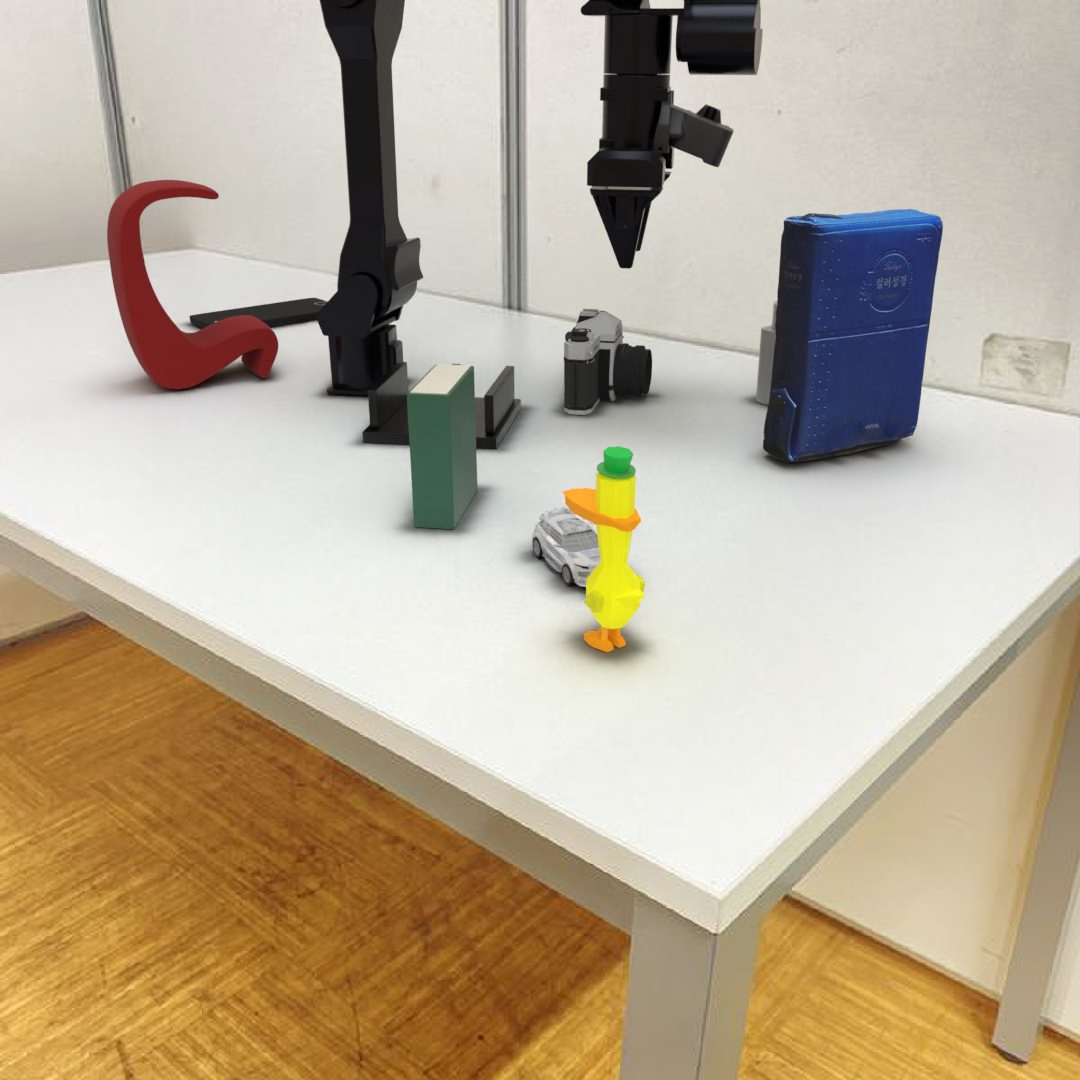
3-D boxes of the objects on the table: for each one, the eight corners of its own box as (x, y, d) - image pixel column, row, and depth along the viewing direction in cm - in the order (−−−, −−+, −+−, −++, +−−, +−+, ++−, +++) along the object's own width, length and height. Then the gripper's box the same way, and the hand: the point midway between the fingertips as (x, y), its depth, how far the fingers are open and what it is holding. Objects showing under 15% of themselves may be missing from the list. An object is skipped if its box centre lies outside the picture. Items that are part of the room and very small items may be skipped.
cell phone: (348, 314, 147) (347, 307, 147) (217, 335, 137) (216, 327, 136) (315, 303, 153) (314, 296, 153) (188, 322, 143) (187, 315, 143)
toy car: (576, 596, 71) (577, 552, 70) (526, 549, 78) (526, 509, 77) (628, 585, 73) (629, 542, 72) (574, 540, 79) (574, 500, 78)
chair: (138, 396, 113) (107, 189, 105) (126, 379, 119) (94, 181, 111) (283, 377, 120) (264, 180, 112) (264, 361, 125) (244, 173, 117)
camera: (639, 420, 105) (645, 323, 102) (557, 414, 107) (560, 318, 104) (654, 392, 117) (659, 305, 114) (580, 387, 119) (583, 300, 116)
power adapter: (752, 400, 111) (761, 277, 106) (789, 390, 114) (799, 270, 109) (776, 407, 109) (786, 281, 104) (813, 397, 112) (825, 275, 107)
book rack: (363, 442, 100) (359, 393, 98) (400, 403, 110) (397, 358, 109) (496, 449, 98) (495, 398, 96) (520, 409, 109) (520, 363, 107)
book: (790, 473, 92) (812, 220, 84) (749, 454, 96) (767, 211, 88) (921, 446, 98) (954, 207, 90) (878, 429, 102) (906, 200, 94)
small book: (413, 527, 82) (406, 392, 78) (440, 488, 89) (435, 363, 85) (454, 529, 81) (448, 394, 77) (477, 490, 89) (473, 364, 85)
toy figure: (543, 628, 67) (543, 437, 63) (589, 611, 69) (592, 424, 65) (619, 673, 62) (625, 469, 58) (666, 653, 64) (675, 455, 60)
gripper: (730, 78, 87) (717, 281, 94) (732, 72, 104) (720, 245, 110) (588, 77, 89) (584, 277, 95) (611, 72, 106) (607, 242, 112)
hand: (630, 259), depth 103 cm, fingers open, 9 cm apart
